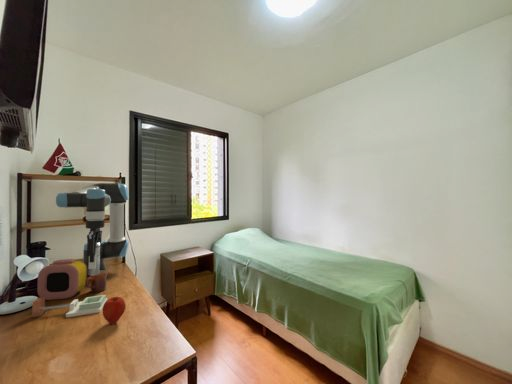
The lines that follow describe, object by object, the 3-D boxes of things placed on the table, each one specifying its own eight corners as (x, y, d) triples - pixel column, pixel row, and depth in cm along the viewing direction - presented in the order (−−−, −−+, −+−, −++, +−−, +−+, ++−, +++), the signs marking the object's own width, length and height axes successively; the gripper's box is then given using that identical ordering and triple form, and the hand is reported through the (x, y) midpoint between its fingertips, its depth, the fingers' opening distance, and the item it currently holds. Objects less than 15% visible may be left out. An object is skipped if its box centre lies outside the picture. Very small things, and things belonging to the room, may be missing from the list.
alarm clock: (35, 302, 111) (36, 264, 111) (50, 292, 121) (52, 258, 122) (76, 298, 114) (77, 262, 115) (87, 290, 125) (88, 256, 126)
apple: (129, 318, 96) (130, 294, 96) (113, 330, 88) (113, 303, 88) (114, 316, 98) (115, 292, 99) (96, 326, 90) (97, 301, 90)
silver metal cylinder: (90, 272, 107) (91, 242, 107) (100, 271, 109) (101, 242, 109) (86, 275, 103) (87, 244, 103) (97, 274, 104) (98, 243, 105)
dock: (99, 312, 101) (100, 303, 101) (65, 317, 97) (65, 308, 97) (107, 300, 113) (107, 292, 113) (77, 305, 108) (77, 296, 108)
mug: (99, 286, 130) (99, 269, 130) (111, 288, 128) (111, 270, 128) (79, 295, 118) (79, 276, 118) (92, 297, 116) (92, 278, 117)
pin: (75, 310, 101) (75, 296, 102) (32, 317, 96) (32, 301, 96) (78, 307, 105) (78, 292, 105) (36, 313, 99) (37, 298, 99)
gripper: (92, 218, 113) (91, 262, 113) (78, 221, 97) (77, 273, 96) (109, 218, 116) (108, 261, 115) (98, 221, 100) (97, 271, 99)
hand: (94, 266), depth 106 cm, fingers closed on silver metal cylinder, 4 cm apart
